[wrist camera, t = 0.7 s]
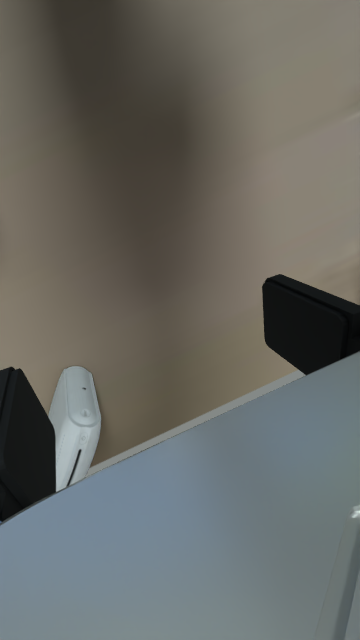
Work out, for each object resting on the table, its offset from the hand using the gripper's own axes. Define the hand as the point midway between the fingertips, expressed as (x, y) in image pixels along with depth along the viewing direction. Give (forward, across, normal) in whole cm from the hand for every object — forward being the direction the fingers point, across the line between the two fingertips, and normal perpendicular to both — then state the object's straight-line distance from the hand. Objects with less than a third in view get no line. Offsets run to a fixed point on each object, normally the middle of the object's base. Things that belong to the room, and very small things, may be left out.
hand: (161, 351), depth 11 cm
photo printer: (+26, +9, +19) cm, 34 cm away
